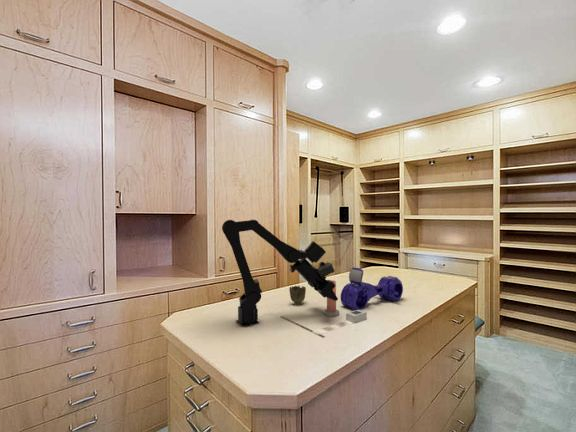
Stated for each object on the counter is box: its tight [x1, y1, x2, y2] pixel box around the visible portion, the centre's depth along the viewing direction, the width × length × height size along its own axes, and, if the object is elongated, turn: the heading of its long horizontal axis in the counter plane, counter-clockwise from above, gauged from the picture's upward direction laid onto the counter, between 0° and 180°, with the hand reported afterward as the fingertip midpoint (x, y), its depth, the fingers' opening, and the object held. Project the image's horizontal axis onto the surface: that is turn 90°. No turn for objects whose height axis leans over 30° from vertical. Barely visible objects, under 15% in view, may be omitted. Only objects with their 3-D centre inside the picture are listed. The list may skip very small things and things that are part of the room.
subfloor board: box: [280, 315, 354, 339], centre depth 110 cm, size 26×24×1 cm
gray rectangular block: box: [345, 309, 368, 324], centre depth 108 cm, size 7×4×3 cm, turn 127°
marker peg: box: [323, 279, 340, 318], centre depth 114 cm, size 6×6×13 cm
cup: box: [288, 285, 307, 306], centre depth 128 cm, size 8×7×8 cm
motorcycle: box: [340, 267, 404, 311], centre depth 130 cm, size 35×14×18 cm, turn 125°
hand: (334, 298), depth 115 cm, fingers open, 5 cm apart
